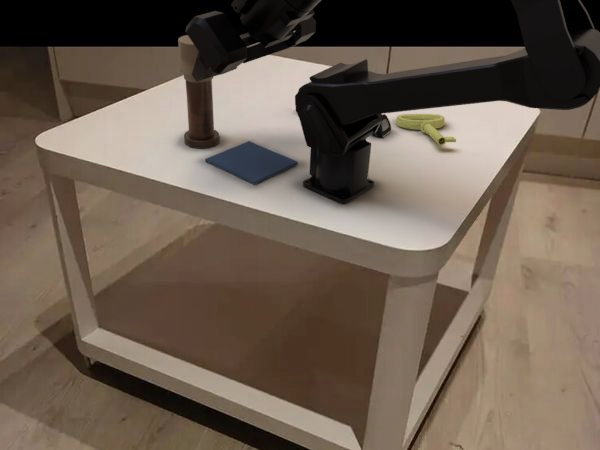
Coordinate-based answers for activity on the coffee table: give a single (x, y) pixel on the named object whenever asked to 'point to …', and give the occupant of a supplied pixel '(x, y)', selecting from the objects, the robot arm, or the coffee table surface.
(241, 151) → the napkin
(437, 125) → the key
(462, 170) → the coffee table surface
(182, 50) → the shaving brush
